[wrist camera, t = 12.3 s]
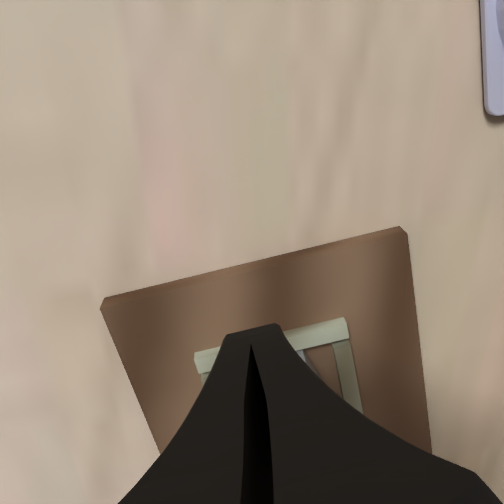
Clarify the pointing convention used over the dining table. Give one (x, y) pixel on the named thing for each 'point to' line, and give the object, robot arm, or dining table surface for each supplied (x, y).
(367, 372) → the board
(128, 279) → the dining table surface
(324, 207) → the dining table surface
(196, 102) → the dining table surface
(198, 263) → the dining table surface
